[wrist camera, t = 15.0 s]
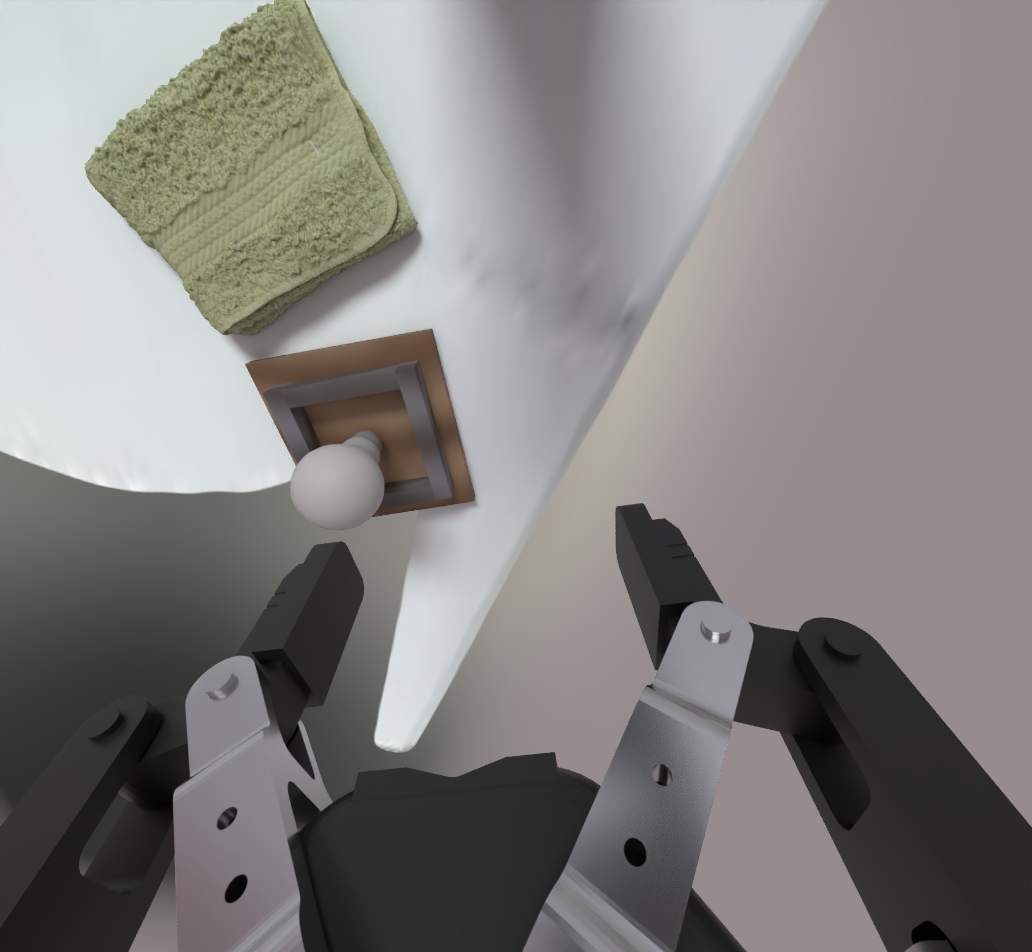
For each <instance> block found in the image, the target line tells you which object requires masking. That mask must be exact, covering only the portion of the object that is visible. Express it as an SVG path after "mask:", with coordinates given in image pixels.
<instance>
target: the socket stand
mask: <svg viewBox="0 0 1032 952" xmlns="http://www.w3.org/2000/svg"><path fill="white" fill-rule="evenodd" d="M245 365H246V367H247V369H248V371H249V373H250V375H251V377H252V379H253V381H254V383H255V385H256V387H257V389H258V391H259V393H260V395H261V397H262V399H263V401H264V403H265V405H266V407H267V409H268V411H269V413H270V415H271V417H272V419H273V421H274V423H275V425H276V427H277V429H278V431H279V433H280V435H281V437H282V439H283V441H284V443H285V445H286V447H287V449H288V451H289V453H290V455H291V457H292V459H293V461H294V463H295V465H296V466H297V464H298V463H299V462H300V460H301V459H302V458H303V457H304V456H306V455H307V454H308V453H309V452H311V451H313V450H315V449H317V448H319V447H322V446H325V445H331V444H343V443H344V442H345V441H346V440H348V439H350V438H352V437H353V436H354V435H355V434H356V433H358V432H359V431H363V430H368V431H372V432H374V433H376V434H377V435H378V436H379V437H380V439H381V441H382V451H381V453H380V461H379V464H378V465H379V468H380V470H381V472H382V474H383V478H384V496H383V500H382V502H381V504H380V506H379V508H378V510H377V511H376V512H375V513H374V514H373V515H372V516H371V517H375V516H382V515H388V514H395V513H401V512H407V511H413V510H420V509H427V508H433V507H440V506H446V505H452V504H459V503H465V502H472V501H474V498H475V495H474V491H473V487H472V483H471V479H470V475H469V471H468V467H467V463H466V459H465V456H464V452H463V448H462V444H461V440H460V436H459V432H458V428H457V424H456V421H455V417H454V413H453V409H452V405H451V401H450V397H449V393H448V389H447V385H446V382H445V378H444V374H443V370H442V366H441V362H440V358H439V354H438V350H437V346H436V343H435V339H434V335H433V331H432V329H428V330H422V331H416V332H411V333H405V334H400V335H394V336H389V337H383V338H378V339H372V340H366V341H361V342H355V343H350V344H344V345H339V346H333V347H327V348H322V349H316V350H311V351H305V352H300V353H294V354H289V355H283V356H277V357H272V358H266V359H261V360H255V361H251V362H249V363H247V364H245Z"/></svg>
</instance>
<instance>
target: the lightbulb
mask: <svg viewBox="0 0 1032 952" xmlns="http://www.w3.org/2000/svg"><path fill="white" fill-rule="evenodd" d="M381 451H382V441H381V439H380V437H379V436H378V435H377V434H376V433H374V432H372V431H368V430H363V431H359V432H358V433H356V434H355V435H354V436H353V437H352V438H350V439H348V440H346V441H345V442H344V443H343V444H331V445H325V446H322V447H319V448H317V449H315V450H313V451H311V452H309V453H308V454H307V455H306V456H304V457H303V458H302V459H301V460H300V462H299V463H298V464H297V466H296V468H295V470H294V472H293V475H292V477H291V486H290V492H291V497H292V500H293V502H294V505H295V507H296V509H297V510H298V512H299V513H300V514H301V515H302V516H303V517H304V518H305V519H306V520H307V521H309V522H310V523H312V524H314V525H316V526H318V527H320V528H324V529H329V530H344V529H349V528H354V527H356V526H359V525H361V524H362V523H364V522H365V521H366V520H368V519H370V517H371V516H372V515H373V514H374V513H375V512H376V511H377V510H378V508H379V506H380V504H381V502H382V500H383V496H384V478H383V474H382V472H381V470H380V468H379V465H378V464H379V461H380V453H381Z"/></svg>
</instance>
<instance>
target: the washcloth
mask: <svg viewBox="0 0 1032 952" xmlns="http://www.w3.org/2000/svg"><path fill="white" fill-rule="evenodd" d="M116 125H117V127H116V129H115V130H114V131H113V132H111V133H110V135H108V139H107V140H106V141H105V143H104V144H103V146H102V147H101V148H100V147H95V153H94V154H93V155H92V156H91V157H90V160H88V162H87V163H86V164H85V165H86V167H85V170H86V174H87V178H88V179H89V181H90V183H91V184H92V185H93V186H94V188H95V189H96V190H97V191H98V192H99V193H100V194H101V195H102V196H103V197H104V198H105V199H106V200H107V201H108V202H109V203H110V204H111V206H112V207H113V208H115V209H116V210H117V212H118V213H119V214H121V215H122V216H123V217H125V218H126V221H127V222H128V223H129V226H130V227H133V228H134V230H136V231H137V233H138V234H139V236H140V237H141V239H142V241H143V242H144V243H145V244H147V245H148V246H149V247H151V248H154V249H156V250H157V251H158V252H159V253H160V254H161V256H162V257H163V258H164V259H165V260H166V261H167V262H168V263H169V265H170V266H171V267H172V268H173V269H174V270H175V271H176V272H177V273H178V275H179V276H180V278H181V279H182V280H183V286H184V289H185V290H186V291H187V292H188V293H189V294H190V296H189V297H190V299H191V300H193V301H195V305H196V306H197V307H198V309H199V311H200V312H201V314H202V315H203V316H204V317H205V319H207V320H208V321H209V322H210V325H211V326H212V327H214V328H215V329H217V330H218V331H219V332H220V333H221V334H223V335H228V334H232V333H234V334H247V335H248V334H250V335H254V334H256V333H258V332H259V329H261V328H264V326H267V325H268V324H270V325H272V323H273V321H274V320H276V319H277V316H278V315H282V314H283V313H284V312H285V311H286V309H287V308H288V307H289V306H290V305H291V304H294V303H295V302H297V301H298V300H299V299H302V298H303V297H305V296H307V295H308V292H313V291H314V289H315V287H316V286H318V285H320V284H321V283H324V282H325V280H327V279H330V278H331V277H332V275H339V273H340V272H342V269H344V270H346V269H347V266H351V265H353V264H354V263H355V264H357V263H358V262H360V261H361V260H362V259H364V258H365V257H370V256H372V255H373V254H375V253H376V251H380V250H383V249H384V248H385V247H386V245H387V244H388V243H390V242H395V241H398V240H399V239H400V238H402V237H404V235H405V234H410V233H411V232H412V231H413V230H414V229H415V227H416V226H417V224H418V223H417V221H416V220H415V217H414V216H413V214H412V212H411V210H410V208H409V206H408V204H407V201H406V199H405V197H404V195H403V193H402V191H401V189H400V186H399V184H398V183H397V179H396V177H395V174H394V172H393V169H392V167H391V165H390V162H389V160H388V157H387V155H386V153H385V151H384V148H383V146H382V143H381V141H380V139H379V137H378V135H377V132H376V130H375V128H374V126H373V124H372V122H371V121H370V120H369V118H368V116H367V114H366V113H365V111H364V110H363V108H362V107H361V105H360V104H359V102H358V101H357V100H356V99H355V98H354V97H353V95H352V94H351V93H350V92H349V90H348V88H347V86H346V84H345V82H344V80H343V78H342V76H341V74H340V73H339V71H338V69H337V67H336V65H335V63H334V60H333V58H332V56H331V54H330V52H329V50H328V48H327V47H326V45H325V43H324V41H323V38H322V36H321V34H320V32H319V29H318V27H317V25H316V23H315V20H314V18H313V16H312V13H311V11H310V8H309V7H308V5H307V3H306V1H305V0H275V1H274V4H273V5H271V4H269V3H267V4H266V5H264V6H258V8H257V12H256V13H252V14H251V17H250V18H249V17H248V16H247V18H244V21H243V22H242V24H238V23H236V22H234V24H233V25H231V26H230V27H228V28H227V29H226V30H225V31H223V32H222V33H221V36H220V41H219V43H218V44H216V45H211V46H210V47H209V50H206V49H203V56H202V58H201V59H197V60H195V61H194V62H191V63H190V66H187V65H186V68H183V69H182V70H181V71H180V72H179V73H178V77H176V78H170V82H169V84H168V85H161V87H160V88H158V89H157V90H155V94H154V95H151V99H150V100H149V99H146V104H144V105H143V106H142V108H140V109H133V110H132V111H130V112H129V113H127V114H126V117H125V121H124V120H122V119H120V120H119V121H118V122H117V123H116Z"/></svg>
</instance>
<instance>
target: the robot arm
mask: <svg viewBox="0 0 1032 952" xmlns="http://www.w3.org/2000/svg"><path fill="white" fill-rule="evenodd" d="M615 514H616V554H617V560H618V564H619V567H620V570H621V574H622V576H623V579H624V582H625V585H626V588H627V591H628V593H629V596H630V599H631V602H632V605H633V608H634V611H635V614H636V617H637V619H638V622H639V625H640V628H641V631H642V634H643V636H644V639H645V642H646V645H647V648H648V651H649V654H650V657H651V660H652V662H653V665H654V668H655V670H658V672H657V674H656V676H655V679H654V681H653V683H652V684H651V685H647V686H646V687H645V689H644V690H643V692H642V694H641V696H640V698H639V700H638V702H637V705H636V707H635V709H634V711H633V714H632V716H631V718H630V721H629V723H628V725H627V728H626V730H625V732H624V734H623V737H622V739H621V741H620V743H619V746H618V748H617V750H616V753H615V755H614V757H613V759H612V762H611V764H610V766H609V768H608V771H607V773H606V775H605V778H604V780H603V782H602V785H601V786H600V785H598V784H597V783H595V782H594V781H592V780H591V779H589V778H587V777H585V776H583V775H581V774H579V773H576V772H573V771H570V770H567V769H563V768H559V767H557V762H556V756H555V753H554V752H551V753H542V754H533V755H523V756H513V757H505V758H503V759H500V760H498V761H495V762H493V763H490V764H488V765H485V766H483V767H481V768H478V769H476V770H473V771H471V772H468V773H466V774H463V775H461V776H458V777H447V776H442V775H437V774H433V773H428V772H424V771H419V770H415V769H410V768H396V769H387V770H378V771H368V772H359V773H358V776H357V780H356V784H355V788H354V791H352V792H350V793H348V794H346V795H344V796H343V797H341V798H339V799H337V800H336V801H334V802H332V800H331V799H330V797H329V795H328V794H327V792H326V790H325V787H324V785H323V782H322V779H321V776H320V773H319V770H318V767H317V764H316V761H315V758H314V755H313V752H312V749H311V746H310V743H309V740H308V737H307V734H306V731H305V728H304V725H303V723H302V722H301V720H300V717H301V715H302V713H303V710H304V708H307V707H316V706H323V704H324V701H325V699H326V696H327V693H328V691H329V688H330V685H331V682H332V680H333V677H334V675H335V672H336V669H337V666H338V664H339V661H340V658H341V656H342V653H343V650H344V647H345V645H346V642H347V640H348V637H349V634H350V631H351V629H352V626H353V623H354V620H355V618H356V615H357V612H358V610H359V607H360V604H361V602H362V599H363V595H364V584H363V579H362V577H361V575H360V572H359V570H358V568H357V566H356V564H355V562H354V560H353V557H352V556H351V553H350V551H349V549H348V547H347V545H346V544H345V543H344V542H333V543H325V544H318V545H315V546H314V547H313V548H312V549H311V551H310V553H309V555H308V556H307V558H306V560H305V561H304V563H303V564H299V565H298V566H296V567H295V568H294V569H293V570H292V571H291V572H290V573H289V574H288V575H287V576H286V577H285V578H284V579H283V580H282V582H281V584H280V585H279V587H278V588H277V590H276V592H275V596H273V597H272V598H271V600H270V601H269V603H268V605H267V609H265V610H264V611H263V613H262V614H261V616H260V618H259V619H258V621H257V623H256V624H255V626H254V627H253V629H252V631H251V632H250V634H249V635H248V637H247V639H246V640H245V642H244V644H243V645H242V647H241V649H240V650H239V652H238V653H237V655H236V656H235V657H232V658H228V659H226V660H224V661H222V662H220V663H218V664H216V665H215V666H213V667H212V668H210V669H209V670H208V671H206V672H205V673H204V674H203V675H202V676H201V677H200V678H199V679H198V680H197V681H196V682H195V684H194V685H193V686H192V688H191V689H190V692H188V693H186V694H183V695H181V696H178V697H175V698H173V699H170V700H168V701H165V702H162V703H160V704H158V705H155V706H153V705H152V704H151V703H150V702H149V701H148V700H147V699H145V698H144V697H143V696H141V695H130V696H126V697H123V698H120V699H118V700H116V701H114V702H112V703H110V704H108V705H106V706H105V707H103V708H102V709H100V710H99V711H97V712H96V713H95V714H93V715H92V716H91V717H90V718H89V719H87V720H86V721H85V722H84V723H83V724H82V725H81V726H80V727H79V728H78V730H77V731H76V732H75V733H74V734H73V736H72V737H71V738H70V739H69V741H68V742H67V743H66V745H65V746H64V747H63V748H62V750H61V751H60V752H59V753H58V755H57V756H56V757H55V758H54V760H53V761H52V762H51V763H50V765H49V766H48V767H47V768H46V770H45V771H44V772H43V773H42V775H41V776H40V777H39V779H38V780H37V781H36V782H35V784H34V785H33V786H32V787H31V789H30V790H29V791H28V792H27V794H26V795H25V796H24V798H23V799H22V800H21V801H20V802H19V804H18V805H17V806H16V808H15V809H14V810H13V811H12V813H11V814H10V815H9V817H8V818H7V819H6V820H5V822H4V823H3V824H2V825H1V826H0V952H128V951H129V949H130V947H131V945H132V942H133V940H134V938H135V937H136V934H137V932H138V930H139V928H140V926H141V924H142V922H143V920H144V918H145V915H146V914H147V911H148V909H149V907H150V905H151V903H152V901H153V899H154V897H155V895H156V893H157V890H158V888H159V886H160V884H161V882H162V880H163V878H164V876H165V874H166V872H167V870H168V867H169V865H170V863H171V861H172V859H173V857H174V855H175V879H176V910H177V911H176V912H177V943H178V944H177V945H178V952H746V951H745V949H744V948H743V947H742V946H741V945H740V944H739V942H738V941H737V940H736V939H735V938H734V937H733V935H732V934H731V933H730V932H729V931H728V929H727V928H726V927H725V926H724V925H723V924H722V922H721V921H720V920H719V919H718V918H717V917H716V915H715V914H714V913H713V912H712V911H711V909H710V908H708V906H707V905H706V904H705V902H704V901H703V900H702V899H701V898H700V897H699V895H698V894H697V893H696V892H695V891H694V890H693V888H692V883H693V879H694V875H695V871H696V867H697V863H698V859H699V855H700V851H701V847H702V843H703V839H704V836H705V831H706V828H707V823H708V820H709V815H710V812H711V808H712V804H713V800H714V796H715V792H716V787H717V783H718V780H719V776H720V772H721V767H722V763H723V760H724V756H725V752H726V748H727V744H728V739H729V736H730V732H731V727H732V722H733V721H735V722H740V723H745V724H748V725H753V726H758V727H761V728H766V729H770V730H775V731H779V732H780V734H781V736H782V738H783V739H784V742H785V744H786V745H787V748H788V749H789V752H790V754H791V756H792V758H793V760H794V762H795V764H796V766H797V768H798V770H799V772H800V774H801V776H802V778H803V780H804V782H805V784H806V787H807V788H808V791H809V792H810V795H811V797H812V799H813V801H814V803H815V805H816V807H817V809H818V811H819V813H820V815H821V817H822V819H823V821H824V823H825V825H826V827H827V829H828V831H829V833H830V835H831V837H832V839H833V841H834V844H835V845H836V847H837V850H838V852H839V853H840V856H841V858H842V860H843V862H844V864H845V866H846V868H847V870H848V872H849V874H850V876H851V878H852V880H853V882H854V884H855V886H856V888H857V890H858V892H859V894H860V896H861V898H862V900H863V902H864V904H865V906H866V909H867V911H868V913H869V915H870V917H871V919H872V921H873V923H874V925H875V927H876V929H877V931H878V933H879V935H880V937H881V939H882V941H883V943H884V945H885V947H886V949H887V951H888V952H1032V827H1031V826H1030V825H1029V824H1028V822H1027V821H1026V820H1025V819H1024V818H1023V816H1022V815H1021V814H1020V813H1019V811H1018V810H1017V809H1016V808H1015V807H1014V805H1013V804H1012V803H1011V802H1010V801H1009V799H1008V798H1007V797H1006V796H1005V795H1004V793H1003V792H1002V791H1001V790H1000V789H999V787H998V786H997V785H996V784H995V783H994V781H993V780H992V779H991V778H990V777H989V775H988V774H987V773H986V772H985V771H984V769H983V768H982V767H981V766H980V765H979V763H978V762H977V761H976V760H975V759H974V757H973V756H972V755H971V754H970V752H969V751H968V750H967V749H966V748H965V746H964V745H963V744H962V743H961V742H960V740H959V739H958V738H957V737H956V736H955V734H954V733H953V732H952V731H951V730H950V728H949V727H948V726H947V725H946V724H945V722H944V721H943V720H942V719H941V718H940V716H939V715H938V714H937V713H936V712H935V710H934V709H933V708H932V707H931V706H930V704H929V703H928V702H927V701H926V700H925V698H924V697H923V696H922V695H921V693H920V692H919V691H918V690H917V689H916V687H915V686H914V685H913V684H912V683H911V681H910V680H909V679H908V678H907V677H906V675H905V674H904V673H903V672H902V671H901V669H900V668H899V667H898V666H897V665H896V664H895V662H894V661H893V660H892V659H891V657H890V656H889V655H888V654H887V653H886V651H885V650H884V649H883V648H882V646H881V645H880V644H879V643H878V642H877V641H876V640H875V639H874V638H873V637H872V636H870V635H869V634H868V633H866V632H865V631H863V630H862V629H860V628H858V627H856V626H854V625H852V624H850V623H848V622H845V621H841V620H838V619H834V618H814V619H811V620H809V621H806V622H805V623H804V624H803V625H802V626H801V628H800V630H799V632H796V631H790V630H782V629H777V628H770V627H764V626H760V625H756V624H753V623H750V622H748V621H747V620H746V618H745V617H744V616H743V615H742V614H741V613H739V612H738V611H737V610H735V609H733V608H732V607H730V606H727V605H725V604H723V602H722V601H721V599H720V597H719V596H718V594H717V592H716V591H715V589H714V587H713V586H712V584H711V582H710V581H709V579H708V577H707V576H706V574H705V572H704V571H703V569H702V567H701V565H700V564H699V562H698V561H697V559H696V557H694V553H693V552H692V550H691V548H690V547H689V546H688V545H687V542H686V540H685V538H684V537H683V535H682V533H681V531H680V530H679V529H678V528H677V527H675V526H674V525H672V523H670V522H669V521H667V520H666V519H656V520H652V519H651V517H650V515H649V513H648V511H647V509H646V507H645V505H644V504H643V503H640V504H633V505H624V506H617V507H616V513H615ZM117 794H120V795H121V796H123V797H124V798H125V799H127V800H128V801H129V802H128V804H127V805H126V807H125V808H124V810H123V812H122V813H121V815H120V817H119V818H118V820H117V822H116V823H115V825H114V827H113V828H112V830H111V832H110V834H109V835H108V836H107V838H106V840H105V842H104V843H103V845H102V847H101V848H100V850H99V852H98V853H97V855H96V856H95V858H94V860H93V861H92V863H91V865H90V866H89V868H88V870H87V871H86V873H85V875H84V876H82V875H81V873H80V870H79V859H80V856H81V853H82V850H83V848H84V846H85V844H86V843H87V841H88V839H89V838H90V836H91V835H92V833H93V832H94V830H95V828H96V827H97V825H98V824H99V822H100V820H101V819H102V817H103V815H104V814H105V813H106V811H107V809H108V808H109V806H110V804H111V803H112V801H113V800H114V798H115V797H116V795H117Z"/></svg>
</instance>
